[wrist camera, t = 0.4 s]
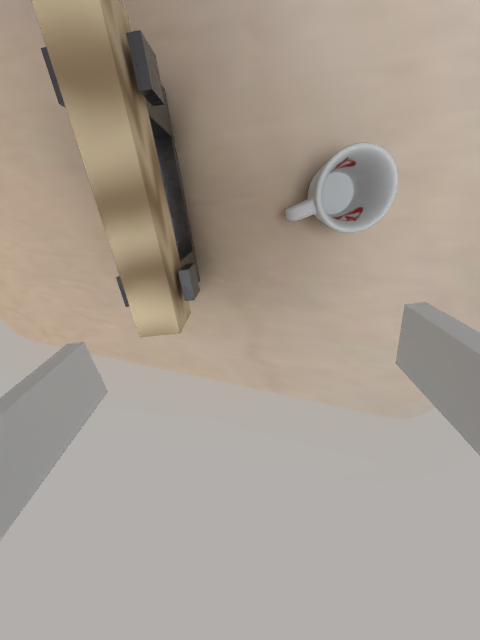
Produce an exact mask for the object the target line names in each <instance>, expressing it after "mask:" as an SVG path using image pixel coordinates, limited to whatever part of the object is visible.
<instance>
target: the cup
mask: <svg viewBox="0 0 480 640" xmlns="http://www.w3.org/2000/svg"><path fill="white" fill-rule="evenodd" d="M397 187H398V172H397V167H396V164H395V162H394V160H393V158H392V157H391V155H390V154H389V153H388V152H387V151H386V150H385V149H384V148H382V147H380V146H378V145H376V144H372V143H357V144H353V145H350V146H348V147H346V148H344V149H342V150H340V151H339V152H338V153H336V154H335V155H334V156H333V157H332V158H331V159H330V160H329V161H328V162H327V163H326V164H325V165H324V166H323V167H322V168H321V169H320V170H319V171H318V172H317V173H316V175H315V176H314V178H313V179H312V181H311V183H310V186H309V190H308V199H307V200H305V201H303V202H301V203H298V204H296V205H294V206H292V207H289V208H288V209H286V210H285V216H286V219H287V220H288V221H290V222H293V221H297V220H300V219H303V218H306V217H309V216H311V215H314V216H315V217H316V218H317V219H319V220H320V221H321V222H323V223H324V224H326V225H327V226H328V227H330V228H331V229H333V230H335V231H338V232H342V233H355V232H359V231H362V230H365V229H367V228H369V227H371V226H372V225H374V224H375V223H377V222H378V221H379V220H380V219H381V218H382V217H383V216H384V215H385V214H386V212H387V211H388V210H389V208H390V206H391V205H392V202H393V200H394V198H395V195H396V192H397Z"/></svg>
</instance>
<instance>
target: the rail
mask: <svg viewBox="0 0 480 640" xmlns="http://www.w3.org/2000/svg"><path fill="white" fill-rule="evenodd" d="M31 1H32V4H33V7H34V10H35V13H36V17H37V20H38V23H39V26H40V29H41V32H42V35H43V38H44V41H45V45H46V48H47V51H48V54H49V57H50V60H51V63H52V66H53V69H54V73H55V76H56V79H57V82H58V85H59V88H60V91H61V94H62V97H63V101H64V104H65V107H66V110H67V113H68V116H69V119H70V122H71V125H72V129H73V132H74V135H75V138H76V141H77V144H78V147H79V150H80V153H81V157H82V160H83V163H84V166H85V169H86V172H87V175H88V178H89V181H90V185H91V188H92V191H93V194H94V197H95V200H96V203H97V206H98V209H99V213H100V216H101V219H102V222H103V225H104V228H105V231H106V234H107V237H108V241H109V244H110V247H111V250H112V253H113V256H114V259H115V262H116V265H117V269H118V272H119V275H120V278H121V281H122V284H123V287H124V290H125V293H126V297H127V300H128V303H129V306H130V309H131V312H132V315H133V318H134V321H135V325H136V328H137V331H138V334H139V337H146V336H157V335H168V334H179V333H181V331H182V329H183V327H184V325H185V323H186V321H187V319H188V317H189V315H190V313H191V311H190V307H189V302H188V301H185V300H184V296H183V291H182V287H181V282H180V278H179V273H178V270H179V269H180V268H181V264H180V260H179V255H178V250H177V246H176V241H175V236H174V231H173V227H172V222H171V217H170V213H169V208H168V203H167V199H166V194H165V189H164V184H163V180H162V175H161V170H160V166H159V161H158V156H157V152H156V147H155V142H154V137H153V133H152V128H151V123H150V119H149V114H148V109H147V105H146V100H145V98H144V96H143V95H142V94H141V93H140V92H139V91H138V86H137V82H136V77H135V73H134V68H133V64H132V59H131V54H130V50H129V45H128V41H127V36H126V33H129V32H131V29H130V25H129V20H128V15H127V12H126V10H125V9H124V7H123V6H122V4H121V2H120V1H119V0H31Z"/></svg>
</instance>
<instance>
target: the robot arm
mask: <svg viewBox="0 0 480 640" xmlns="http://www.w3.org/2000/svg"><path fill="white" fill-rule="evenodd" d="M396 364H397V365H398V366H399V368H400V369H401V370H402V371H403V372H404V373H405V374H406V375H407V376H408V377H409V379H410V380H411V381H412V382H413V383H414V384H415V385H416V386H417V387H418V388H419V389H420V391H421V392H422V393H423V394H424V395H425V396H426V397H427V398H428V399H429V400H430V402H431V403H432V404H433V405H434V406H435V407H436V408H437V409H438V410H439V411H440V412H441V414H442V415H443V416H444V417H445V418H446V419H447V420H448V421H449V422H450V423H451V425H452V426H453V427H454V428H455V429H456V430H457V431H458V432H459V433H460V434H461V435H462V436H463V438H464V439H465V440H466V441H467V442H468V443H469V444H470V445H471V446H472V447H473V448H474V450H475V451H476V452H477V453H478V454H479V455H480V333H479V332H477V331H476V330H474V329H472V328H470V327H469V326H467V325H465V324H463V323H462V322H460V321H458V320H456V319H455V318H453V317H451V316H449V315H448V314H446V313H444V312H442V311H441V310H439V309H437V308H435V307H434V306H432V305H430V304H428V303H426V302H422V303H414V304H405V307H404V313H403V319H402V326H401V332H400V338H399V345H398V351H397V357H396ZM107 392H108V391H107V388H106V386H105V384H104V382H103V380H102V378H101V376H100V374H99V372H98V370H97V368H96V366H95V364H94V361H93V360H92V357H91V355H90V353H89V351H88V349H87V347H86V345H85V343H84V342H80V343H71V344H67V345H65V346H64V347H63V348H62V349H60V350H59V351H58V352H57V353H55V354H54V355H53V356H52V357H51V358H49V359H48V360H47V361H46V362H44V363H43V364H42V365H41V366H39V367H38V368H37V369H36V370H34V371H33V372H32V373H31V374H29V375H28V376H27V377H26V378H24V379H23V380H22V381H21V382H19V383H18V384H17V385H16V386H14V387H13V388H12V389H11V390H10V391H8V392H7V393H6V394H5V395H4V396H2V397H1V398H0V540H1V539H2V537H3V536H4V535H5V533H6V532H7V530H8V529H9V528H10V526H11V525H12V524H13V522H14V521H15V520H16V518H17V517H18V515H19V514H20V513H21V511H22V510H23V508H24V507H25V506H26V504H27V503H28V501H29V500H30V499H31V497H32V496H33V495H34V493H35V492H36V490H37V489H38V488H39V486H40V485H41V484H42V482H43V481H44V479H45V478H46V477H47V475H48V474H49V472H50V471H51V470H52V468H53V467H54V466H55V464H56V463H57V461H58V460H59V459H60V457H61V456H62V454H63V453H64V452H65V450H66V449H67V447H68V446H69V445H70V443H71V441H73V439H74V438H75V436H76V435H77V434H78V432H79V431H80V430H81V428H82V427H83V425H84V424H85V423H86V421H87V420H88V418H89V417H90V416H91V414H92V413H93V412H94V410H95V409H96V407H97V406H98V405H99V403H100V402H101V400H102V399H103V398H104V396H105V395H106V394H107Z"/></svg>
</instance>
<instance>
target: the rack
mask: <svg viewBox="0 0 480 640" xmlns="http://www.w3.org/2000/svg"><path fill="white" fill-rule="evenodd" d="M126 36H127V41H128V45H129V50H130V54H131V59H132V64H133V68H134V73H135V77H136V82H137V86H138V91H139V92H140V93H141V94H142V95H143V96H144V98H145V100H146V105H147V109H148V114H149V119H150V123H151V128H152V133H153V137H154V142H155V147H156V152H157V156H158V161H159V166H160V170H161V175H162V180H163V184H164V189H165V194H166V199H167V203H168V208H169V213H170V217H171V222H172V227H173V231H174V236H175V241H176V246H177V250H178V255H179V260H180V264H181V268H180V269H179V270H178V273H179V278H180V282H181V287H182V291H183V296H184V300H185V301H189V300H195V298H196V297H197V295H198V293H199V291H200V289H199V283H198V282H199V281H200V278H199V273H198V267H197V262H196V257H195V251H194V246H193V240H192V235H191V230H190V224H189V219H188V213H187V208H186V203H185V197H184V192H183V186H182V181H181V176H180V170H179V165H178V159H177V154H176V149H175V143H174V138H173V132H172V127H171V122H170V116H169V111H168V105H167V100H166V95H165V89H164V88H163V87H162V86H161V82H160V77H159V71H158V66H157V61H156V55H155V54H154V52H153V50H152V49H151V47H150V45H149V44H148V42H147V41H146V39H145V37H144V36H143V34H142V32H141V31H134V32H129V33H126ZM41 50H42V53H43V56H44V59H45V62H46V65H47V68H48V71H49V75H50V78H51V81H52V84H53V87H54V90H55V93H56V96H57V99H58V102H59V104H60V105H62V106H64V107H65V104H64V101H63V97H62V94H61V91H60V88H59V85H58V82H57V79H56V76H55V73H54V69H53V66H52V63H51V60H50V57H49V54H48V51H47V48H46V47H44V48H41ZM116 278H117V281H118V285H119V288H120V291H121V294H122V297H123V300H124V303H125V306H126V307H129V303H128V300H127V297H126V293H125V290H124V287H123V284H122V281H121V278H120V276H118V277H116Z"/></svg>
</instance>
